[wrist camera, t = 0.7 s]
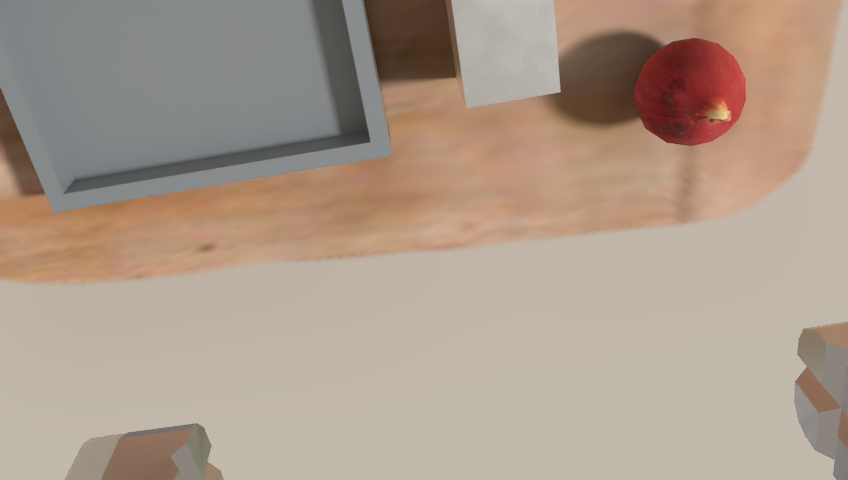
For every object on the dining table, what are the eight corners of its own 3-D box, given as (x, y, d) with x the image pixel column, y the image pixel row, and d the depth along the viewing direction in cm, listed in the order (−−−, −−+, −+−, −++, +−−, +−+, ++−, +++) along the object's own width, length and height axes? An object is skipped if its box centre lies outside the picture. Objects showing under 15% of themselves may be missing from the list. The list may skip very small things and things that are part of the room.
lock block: (435, -66, 42) (444, -52, 37) (526, -82, 42) (547, -70, 37) (456, 76, 46) (466, 108, 41) (539, 62, 46) (560, 92, 41)
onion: (643, 138, 48) (689, 190, 41) (602, 61, 46) (643, 102, 39) (729, 87, 47) (792, 132, 40) (692, 6, 45) (751, 38, 38)
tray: (-25, -45, 41) (-53, -37, 39) (343, -111, 41) (341, -107, 38) (71, 191, 48) (53, 212, 45) (390, 137, 47) (391, 155, 45)
